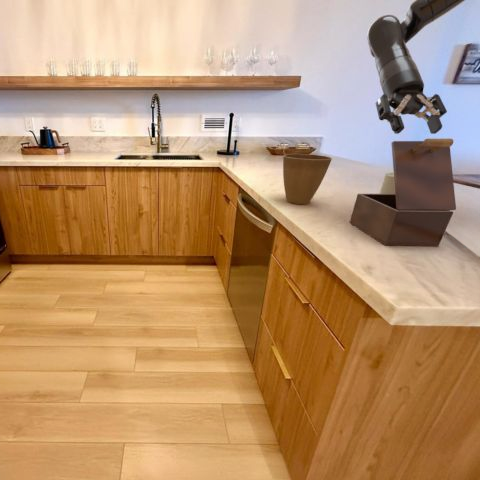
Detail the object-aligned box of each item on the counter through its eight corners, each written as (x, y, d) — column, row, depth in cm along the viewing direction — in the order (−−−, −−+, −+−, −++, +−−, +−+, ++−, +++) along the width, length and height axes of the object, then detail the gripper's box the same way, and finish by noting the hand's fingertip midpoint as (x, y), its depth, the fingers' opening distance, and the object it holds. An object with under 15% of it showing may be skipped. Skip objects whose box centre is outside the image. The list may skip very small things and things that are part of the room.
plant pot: (323, 209, 95) (335, 160, 88) (276, 205, 100) (284, 158, 93) (318, 198, 108) (328, 154, 101) (276, 194, 112) (283, 152, 106)
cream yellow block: (374, 204, 100) (385, 169, 95) (407, 209, 95) (421, 173, 90) (373, 211, 93) (385, 174, 88) (409, 217, 88) (424, 178, 83)
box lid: (391, 142, 68) (410, 131, 63) (446, 142, 68) (470, 130, 62) (396, 209, 66) (417, 204, 61) (452, 210, 66) (478, 204, 60)
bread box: (349, 222, 84) (357, 193, 80) (393, 223, 83) (403, 193, 80) (385, 245, 70) (397, 211, 66) (438, 246, 69) (453, 211, 66)
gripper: (381, 68, 71) (399, 119, 65) (441, 67, 70) (464, 119, 64) (362, 93, 78) (377, 142, 72) (416, 93, 77) (435, 142, 71)
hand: (418, 131), depth 68 cm, fingers open, 8 cm apart
